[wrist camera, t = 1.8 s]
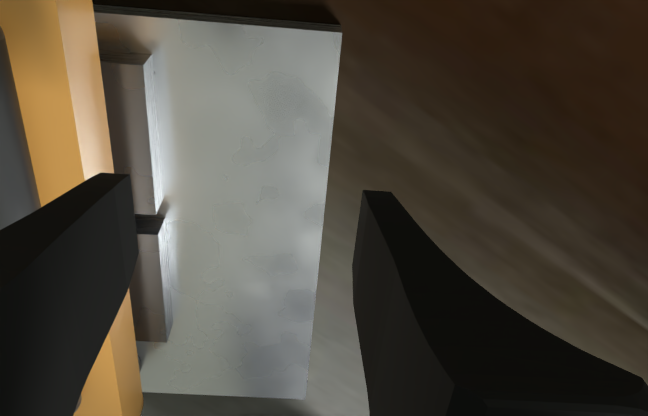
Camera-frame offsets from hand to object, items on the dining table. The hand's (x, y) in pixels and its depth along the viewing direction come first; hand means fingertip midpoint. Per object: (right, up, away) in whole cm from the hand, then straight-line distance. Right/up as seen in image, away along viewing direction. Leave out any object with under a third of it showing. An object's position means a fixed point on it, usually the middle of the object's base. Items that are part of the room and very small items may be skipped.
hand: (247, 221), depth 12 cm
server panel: (-7, 0, +11) cm, 14 cm away
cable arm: (-7, -1, +8) cm, 11 cm away
